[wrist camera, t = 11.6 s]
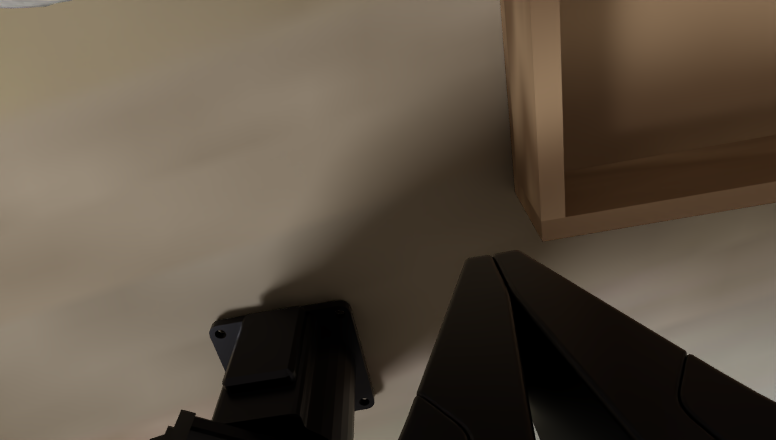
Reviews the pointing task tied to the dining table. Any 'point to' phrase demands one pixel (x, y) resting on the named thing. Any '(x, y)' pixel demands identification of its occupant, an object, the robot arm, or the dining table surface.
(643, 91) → the wooden tray
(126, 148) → the dining table surface
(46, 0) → the teacup
